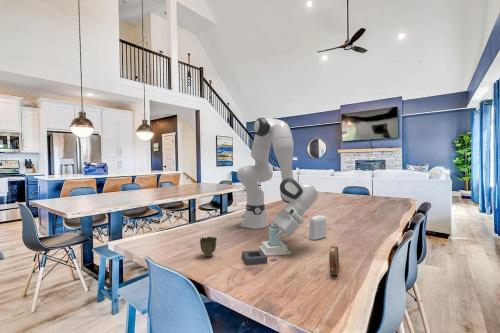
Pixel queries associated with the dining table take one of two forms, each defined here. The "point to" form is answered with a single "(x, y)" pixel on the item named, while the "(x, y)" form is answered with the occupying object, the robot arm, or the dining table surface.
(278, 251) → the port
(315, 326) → the dining table surface
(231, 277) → the dining table surface
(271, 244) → the plug
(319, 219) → the photo printer
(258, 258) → the holster
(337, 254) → the tin
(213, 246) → the cup
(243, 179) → the robot arm
